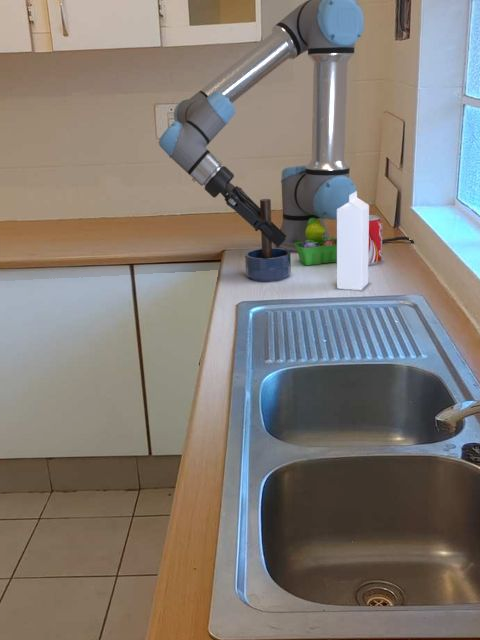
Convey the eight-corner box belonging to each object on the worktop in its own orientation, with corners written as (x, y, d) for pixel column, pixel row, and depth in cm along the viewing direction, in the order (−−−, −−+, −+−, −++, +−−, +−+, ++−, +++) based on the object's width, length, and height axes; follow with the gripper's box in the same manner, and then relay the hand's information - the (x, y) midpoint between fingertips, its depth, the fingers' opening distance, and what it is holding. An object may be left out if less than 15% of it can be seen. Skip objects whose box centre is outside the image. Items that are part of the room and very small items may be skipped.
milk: (336, 289, 179) (335, 195, 170) (344, 281, 184) (343, 190, 175) (361, 290, 176) (362, 195, 168) (368, 283, 181) (369, 190, 173)
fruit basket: (303, 267, 198) (302, 224, 194) (292, 259, 206) (291, 218, 202) (343, 262, 201) (343, 220, 196) (332, 255, 209) (331, 214, 204)
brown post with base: (273, 260, 194) (271, 197, 188) (280, 265, 189) (278, 200, 183) (254, 263, 193) (251, 199, 186) (261, 267, 188) (258, 202, 182)
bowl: (281, 268, 199) (280, 245, 196) (297, 278, 189) (297, 255, 186) (240, 273, 196) (239, 251, 194) (254, 284, 186) (253, 261, 183)
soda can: (379, 266, 195) (380, 220, 190) (352, 265, 197) (352, 219, 193) (383, 259, 201) (384, 214, 196) (357, 258, 203) (357, 214, 199)
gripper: (208, 182, 193) (274, 245, 197) (197, 192, 179) (269, 260, 182) (227, 160, 190) (294, 224, 194) (218, 169, 176) (290, 237, 180)
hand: (282, 241), depth 188 cm, fingers closed on brown post with base, 3 cm apart
